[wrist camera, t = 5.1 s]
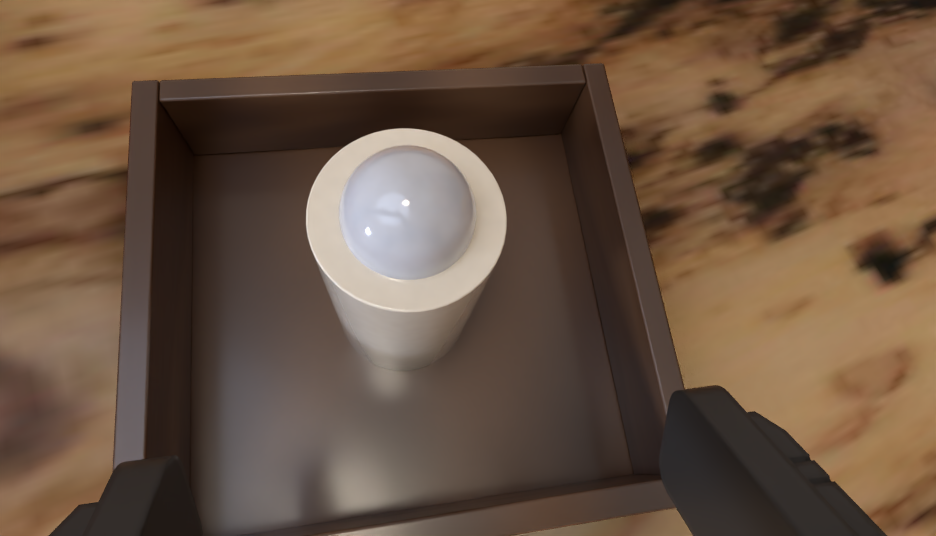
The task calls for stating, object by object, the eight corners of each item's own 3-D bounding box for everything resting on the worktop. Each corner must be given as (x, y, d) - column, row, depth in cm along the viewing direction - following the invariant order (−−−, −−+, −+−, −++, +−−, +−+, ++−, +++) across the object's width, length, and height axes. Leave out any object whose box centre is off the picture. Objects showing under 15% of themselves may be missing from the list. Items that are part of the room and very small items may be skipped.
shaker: (312, 306, 20) (244, 176, 11) (405, 225, 21) (412, 51, 12) (401, 398, 19) (407, 341, 10) (491, 309, 20) (565, 189, 12)
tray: (168, 573, 17) (104, 604, 13) (177, 146, 22) (131, 80, 18) (653, 494, 20) (714, 502, 16) (571, 125, 24) (604, 62, 20)
